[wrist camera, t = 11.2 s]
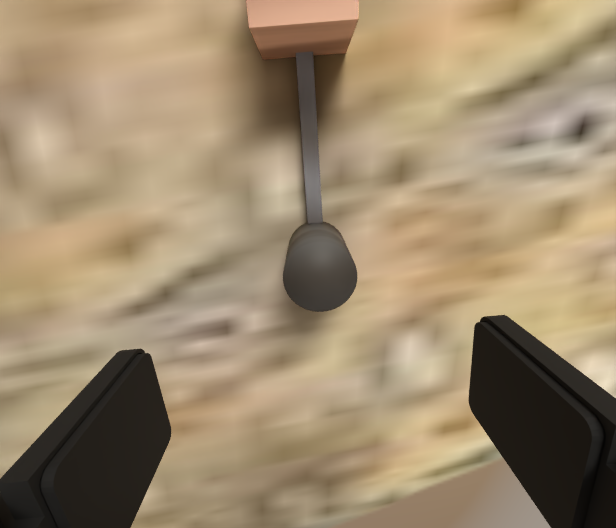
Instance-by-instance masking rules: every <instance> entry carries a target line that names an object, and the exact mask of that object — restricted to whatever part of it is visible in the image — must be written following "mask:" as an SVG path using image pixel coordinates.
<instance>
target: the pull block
mask: <svg viewBox="0 0 616 528" xmlns="http://www.w3.org/2000/svg"><path fill="white" fill-rule="evenodd" d="M246 4H247V13H248V22H249V29H250V31H251V33H252V36H253V38H254V40H255V43H256V45H257V47H258V49H259V52H260V54H261V56H262V59H263V60H265V59H278V58H290V57H296V65H297V79H298V93H299V107H300V121H301V135H302V149H303V163H304V177H305V191H306V205H307V219H308V223H305V224H303V225H301V226H300V227H299V228H298V229H297V230H296V231H295V232H294V233H293V235H292V237H291V239H290V242H289V247H288V252H287V257H286V262H285V267H284V272H283V282H284V287H285V290H286V292H287V294H288V295H289V297H290V298H291V299H292V300H293V301H294V302H295V303H296V304H297V305H299V306H300V307H302V308H304V309H307V310H311V311H317V312H323V311H329V310H332V309H335V308H337V307H339V306H341V305H342V304H344V303H345V302H346V301H347V300H348V299H349V298H350V296H351V295H352V293H353V292H354V289H355V287H356V283H357V270H356V266H355V263H354V261H353V259H352V257H351V254H350V252H349V250H348V248H347V246H346V244H345V241H344V239H343V237H342V235H341V233H340V232H339V231H338V230H337V229H336V228H335V227H334V226H332V225H331V224H329V223H326V222H323V219H322V202H321V184H320V167H319V149H318V132H317V114H316V97H315V79H314V62H313V56H315V55H328V54H341V53H346V52H347V49H348V46H349V44H350V41H351V38H352V36H353V33H354V30H355V28H356V25H357V22H358V20H359V8H358V0H246Z"/></svg>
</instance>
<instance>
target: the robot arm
mask: <svg viewBox="0 0 616 528" xmlns="http://www.w3.org/2000/svg"><path fill="white" fill-rule="evenodd" d="M469 405H470V408H471V411H472V413H473V414H474V416H475V417H476V419H477V420H478V422H479V423H480V424H481V426H482V427H483V429H484V430H485V432H486V433H487V435H488V436H489V438H490V439H491V441H492V442H493V443H494V445H495V446H496V448H497V449H498V451H499V452H500V454H501V455H502V457H503V458H504V460H505V461H506V462H507V464H508V465H509V466H510V468H511V470H512V471H513V473H514V474H515V476H516V477H517V478H518V480H519V481H520V483H521V484H522V486H523V487H524V489H525V490H526V492H527V493H528V495H529V496H530V497H531V499H532V500H533V502H534V503H535V505H536V506H537V508H538V509H539V510H540V512H541V514H542V515H543V516H544V518H545V519H546V521H547V522H548V524H549V525H550V527H551V528H616V398H614V397H613V396H612V395H610V394H609V393H608V392H606V391H605V390H604V389H602V388H601V387H600V386H598V385H597V384H596V383H595V382H593V381H592V380H591V379H589V378H588V377H587V376H585V375H584V374H583V373H581V372H580V371H579V370H577V369H576V368H575V367H573V366H572V365H571V364H569V363H568V362H567V361H565V360H564V359H563V358H562V357H560V356H559V355H558V354H556V353H555V352H554V351H552V350H551V349H550V348H548V347H547V346H546V345H544V344H543V343H542V342H540V341H539V340H538V339H536V338H535V337H534V336H532V335H531V334H530V333H529V332H527V331H526V330H525V329H523V328H522V327H521V326H519V325H518V324H517V323H515V322H514V321H513V320H511V319H510V318H509V317H507V316H505V315H498V316H487V317H483V318H481V320H480V322H478V323H476V325H475V328H474V340H473V352H472V365H471V377H470V389H469ZM170 437H171V426H170V422H169V419H168V415H167V411H166V408H165V404H164V401H163V397H162V393H161V390H160V386H159V383H158V379H157V375H156V372H155V368H154V365H153V361H152V358H151V355H150V354H148V353H145V352H144V350H142V349H133V350H122V351H119V352H118V353H116V354H115V356H114V357H113V358H112V359H111V360H110V361H109V362H108V363H107V364H106V365H105V366H104V367H103V368H102V370H101V371H100V372H99V373H98V374H97V375H96V376H95V377H94V378H93V379H92V380H91V381H90V383H89V384H88V385H87V386H86V387H85V388H84V389H83V390H82V391H81V392H80V393H79V394H78V395H77V397H76V398H75V399H74V400H73V401H72V402H71V403H70V404H69V405H68V406H67V407H66V408H65V410H64V411H63V412H62V413H61V414H60V415H59V416H58V417H57V418H56V419H55V420H54V421H53V422H52V424H51V425H50V426H49V427H48V428H47V429H46V430H45V431H44V432H43V433H42V434H41V435H40V437H39V438H38V439H37V440H36V441H35V442H34V443H33V444H32V445H31V446H30V447H29V448H28V449H27V451H26V452H25V453H24V454H23V455H22V456H21V457H20V458H19V459H18V460H17V461H16V462H15V464H14V465H13V466H12V467H11V468H10V469H9V470H8V471H7V472H6V473H5V474H4V475H3V476H2V478H1V479H0V528H130V527H131V525H132V523H133V521H134V519H135V516H136V514H137V512H138V510H139V507H140V505H141V503H142V501H143V499H144V496H145V494H146V492H147V490H148V488H149V485H150V483H151V481H152V479H153V477H154V474H155V472H156V470H157V468H158V465H159V463H160V461H161V459H162V457H163V454H164V452H165V450H166V448H167V446H168V443H169V441H170Z"/></svg>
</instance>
